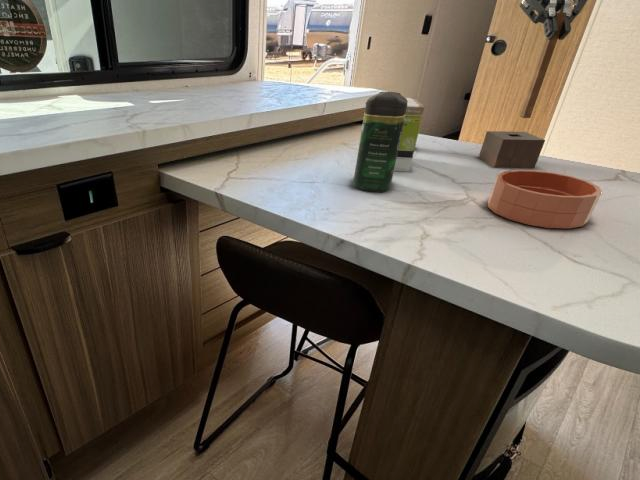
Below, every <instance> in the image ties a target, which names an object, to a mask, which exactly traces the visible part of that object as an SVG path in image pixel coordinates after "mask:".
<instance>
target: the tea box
mask: <svg viewBox="0 0 640 480" xmlns="http://www.w3.org/2000/svg"><path fill="white" fill-rule="evenodd" d="M405 98H406V99H407V109H406V115H405V120H404V126H403V131H402V136H401V140H400V145H399V150H398V154H397V158H396V163H395V167H394V172H410V171H411V167H412V163H413V162H412V161H413V157H414V154H415V149H416V145H417V141H418V136H419V132H420V128H421V124H422V120H423V115H424V111H425V106H424V104H422V103H421V102H420V101H418V100H417V99H416V98H412V97H405Z"/></svg>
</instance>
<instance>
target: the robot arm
mask: <svg viewBox="0 0 640 480" xmlns="http://www.w3.org/2000/svg"><path fill="white" fill-rule="evenodd" d="M587 2H588V0H521V2H520V3H519V6H518V7H519V8H520V9H521V10H522V11H523V13H525V14H526V15H527V17H528V18H529V19H530V20H531V22H532V23H533V24H535V25H536V24H539V23H541V25H542V26H543V31H544V36H545V38H547V39H548V40H552V39H553V38H554V37H555V36H556V34H557V33H558V26H557V19H556V17H554V16H555V14H556V13H567V14H566V17H565V20H564V23H563V25H562V28H561V31H560V34H559V37H558V41H563V40H565V38H566V37H567V36H568V35H569V34H570V32H571V30H572V25H571V24H572V23H573V22H574V21H575V19H576V17H577V16H578V15H579V14H580V13H581V11H582V10H583V8H584V7H585V5H586V3H587ZM571 7H572V9H571Z"/></svg>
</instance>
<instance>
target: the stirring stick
mask: <svg viewBox="0 0 640 480" xmlns="http://www.w3.org/2000/svg"><path fill="white" fill-rule="evenodd" d="M566 14H567V13H556V14H555V16H554V17H556V19H557V26H558V33H557V34H556V36H555V37H554V38H553V39H552V40H548V39H547V37H545V41H544V44H543V47H542V50H541V53H540V56H539V59H538V61H537V65H536V66H535V67H536V68H535V70H534V73H533V76H532V80H531V82H530V86H529V88H528V92H527V95H526V97H525V100H524V103H523V106H522V109H521V112H520V115H519V118H522V119H530V118H532V117H531V116H532V114H533V111H534V108H535V105H536V102H537V101H538V97H539V94H540V92H541V88H542V86H543V84H544V81H545V77H546V74H547V71H548V68H549V65H550V64H551V59H552V57H553V54H554V51H555V49H556V46H557V43H558V41H559V39H558V37H559V34H560V31H561V28H562V25H563V23H564V20H565V17H566Z"/></svg>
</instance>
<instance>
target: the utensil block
mask: <svg viewBox="0 0 640 480" xmlns="http://www.w3.org/2000/svg"><path fill="white" fill-rule="evenodd" d="M545 142H546V140H545V139H543V138H541V137H539V136H536V135H534V134H532V133H529V132H527V131H507V130H506V131H502V130H501V131H500V130H497V131H495V130H493V131H492V130H486V132H485V136H484V138H483V142H482V145H481V149H480V151H479V154H478V159H479V160H481V161H483V163H485V164H488V165H489V166H490V167H492V168H494V169H531V170H532V169H533V170H534V169H535V168H536V165H537V162H538V160H539V158H540V155H541V152H542V149H543V147H544V145H545Z"/></svg>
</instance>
